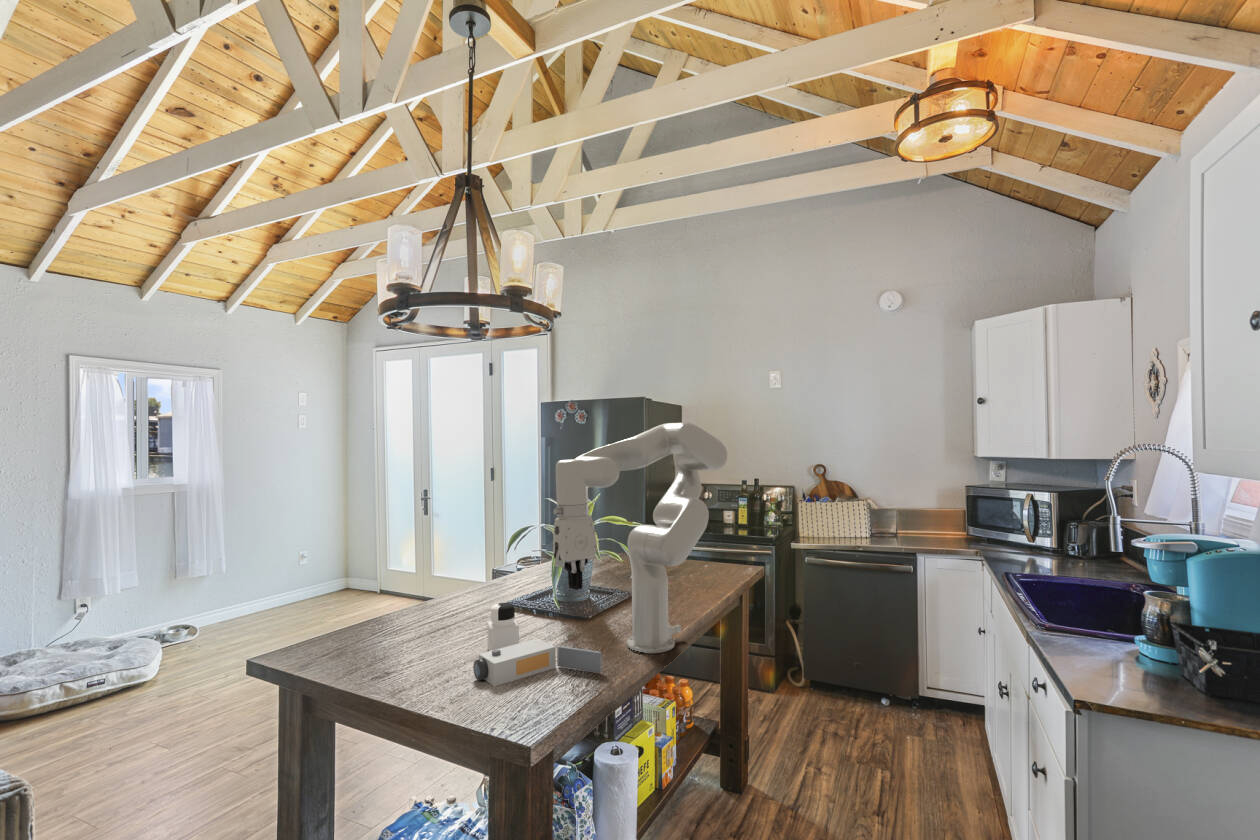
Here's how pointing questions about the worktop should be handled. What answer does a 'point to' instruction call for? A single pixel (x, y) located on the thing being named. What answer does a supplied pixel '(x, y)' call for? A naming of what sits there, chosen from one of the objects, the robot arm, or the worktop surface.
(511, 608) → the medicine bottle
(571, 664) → the side door
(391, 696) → the worktop surface
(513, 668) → the camera body
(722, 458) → the robot arm
